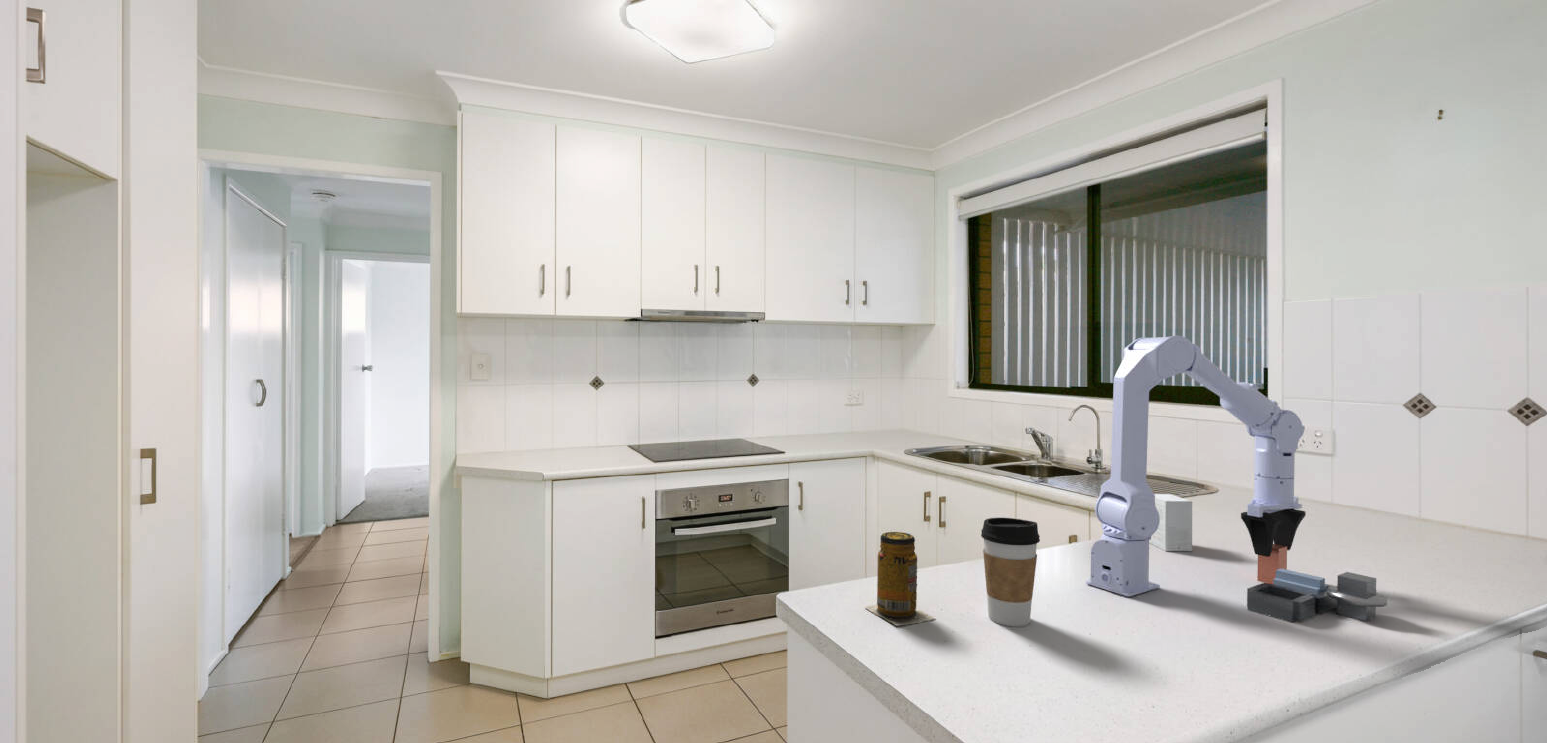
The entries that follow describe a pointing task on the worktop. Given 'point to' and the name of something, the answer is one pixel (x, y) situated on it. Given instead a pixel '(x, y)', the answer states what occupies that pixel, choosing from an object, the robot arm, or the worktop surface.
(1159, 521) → the robot arm
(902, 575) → the condiment
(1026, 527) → the coffee cup
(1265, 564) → the reddish brown rectangular block
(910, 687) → the worktop surface
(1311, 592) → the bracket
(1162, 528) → the small box
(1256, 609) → the grey socket with disc
